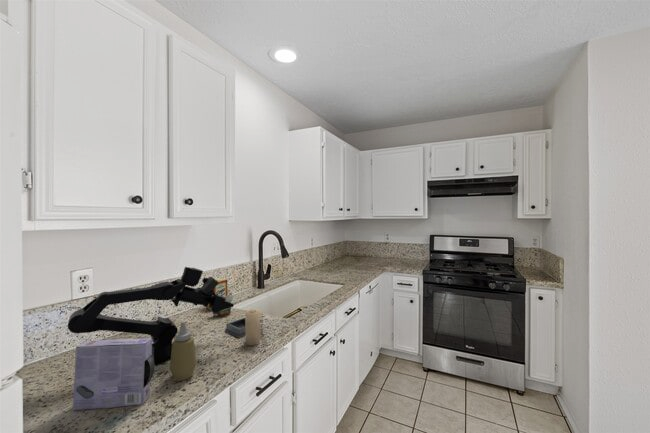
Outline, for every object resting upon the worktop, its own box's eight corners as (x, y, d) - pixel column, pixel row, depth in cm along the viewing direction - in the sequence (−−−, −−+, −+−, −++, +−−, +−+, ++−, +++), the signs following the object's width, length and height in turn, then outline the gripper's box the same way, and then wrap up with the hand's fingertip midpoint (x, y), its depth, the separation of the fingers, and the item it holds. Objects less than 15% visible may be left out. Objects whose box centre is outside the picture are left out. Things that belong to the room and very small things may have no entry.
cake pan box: (155, 393, 84) (155, 335, 84) (147, 405, 79) (147, 343, 79) (84, 400, 81) (84, 339, 81) (71, 412, 76) (71, 348, 76)
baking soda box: (214, 311, 155) (214, 282, 155) (206, 309, 158) (206, 281, 158) (227, 306, 163) (227, 278, 163) (219, 304, 166) (219, 277, 166)
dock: (239, 338, 122) (239, 330, 122) (224, 331, 129) (224, 323, 129) (259, 329, 131) (259, 322, 130) (244, 324, 137) (244, 317, 137)
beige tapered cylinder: (251, 346, 114) (251, 314, 114) (242, 342, 118) (242, 311, 118) (262, 341, 119) (262, 310, 119) (253, 337, 123) (254, 307, 122)
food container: (217, 320, 142) (217, 300, 142) (210, 317, 146) (210, 298, 146) (237, 313, 152) (237, 295, 152) (231, 310, 156) (231, 292, 156)
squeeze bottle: (178, 386, 88) (178, 329, 88) (164, 378, 92) (164, 324, 92) (201, 373, 95) (201, 321, 95) (187, 366, 99) (187, 316, 99)
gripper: (208, 280, 105) (244, 288, 114) (194, 271, 120) (228, 280, 129) (196, 309, 103) (235, 316, 112) (184, 297, 117) (219, 304, 126)
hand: (229, 302), depth 120 cm, fingers open, 9 cm apart
